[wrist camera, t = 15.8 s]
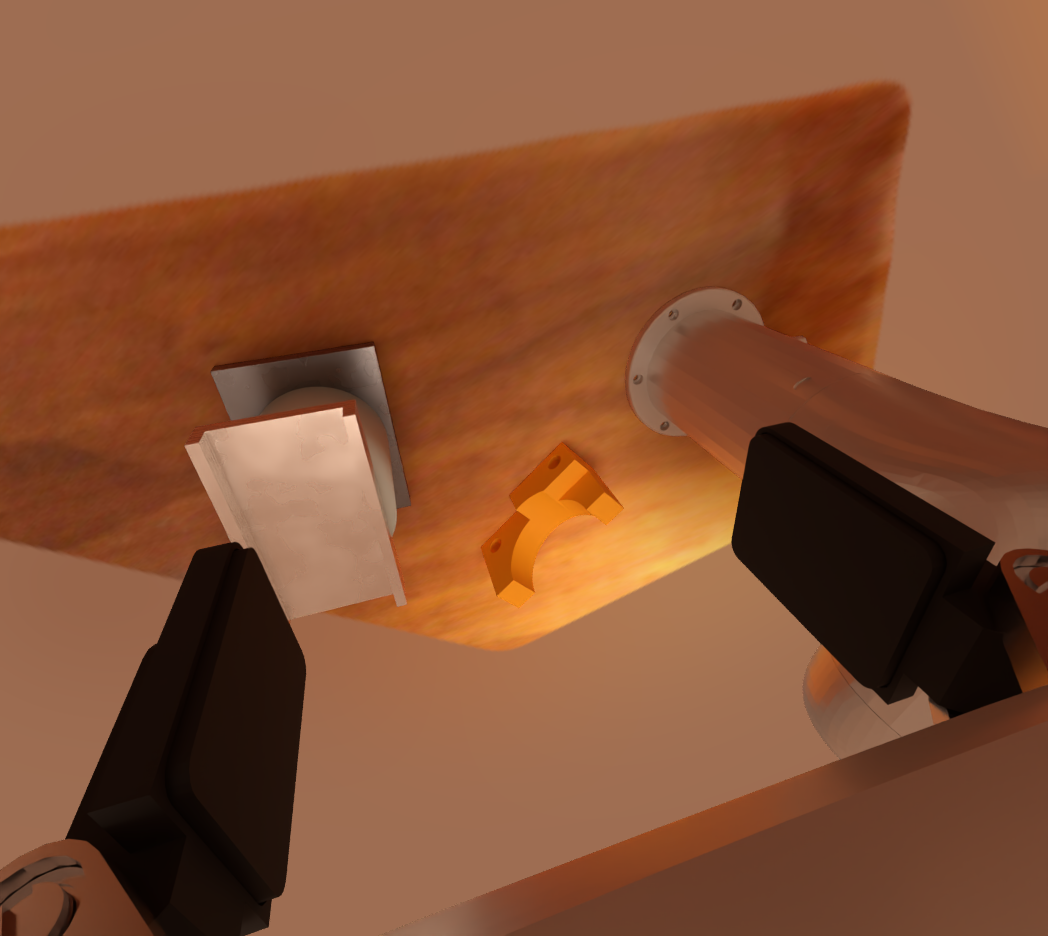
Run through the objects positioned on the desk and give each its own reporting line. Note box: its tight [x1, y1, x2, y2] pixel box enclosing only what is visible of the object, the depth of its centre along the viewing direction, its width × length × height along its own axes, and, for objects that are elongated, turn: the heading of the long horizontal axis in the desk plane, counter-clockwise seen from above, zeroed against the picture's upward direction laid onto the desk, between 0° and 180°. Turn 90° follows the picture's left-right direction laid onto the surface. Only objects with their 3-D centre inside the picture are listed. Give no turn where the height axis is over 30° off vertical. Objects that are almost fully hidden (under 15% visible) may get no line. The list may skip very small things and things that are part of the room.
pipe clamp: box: [481, 442, 624, 608], centre depth 43 cm, size 12×4×6 cm, turn 134°
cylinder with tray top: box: [184, 342, 411, 624], centre depth 32 cm, size 10×13×12 cm
